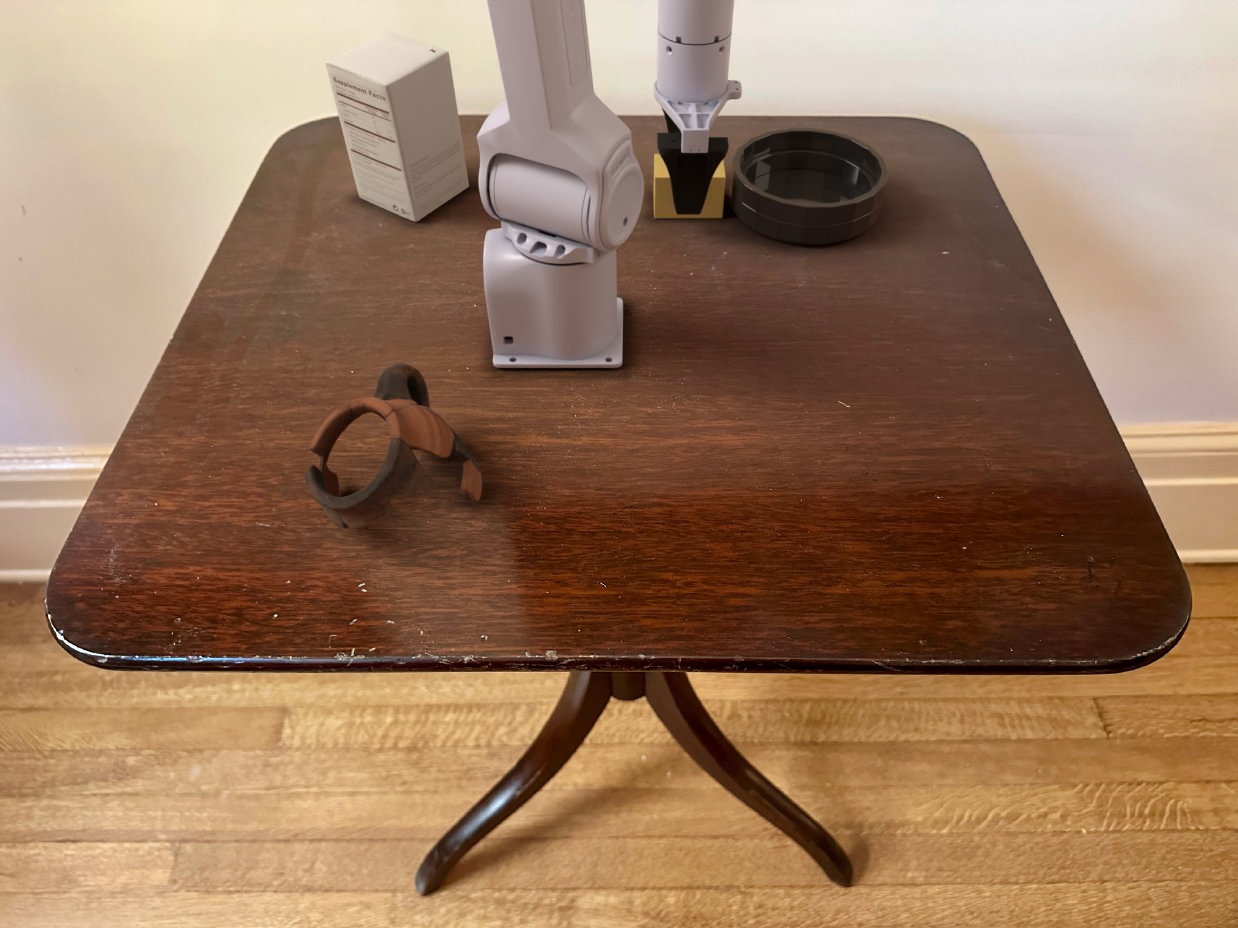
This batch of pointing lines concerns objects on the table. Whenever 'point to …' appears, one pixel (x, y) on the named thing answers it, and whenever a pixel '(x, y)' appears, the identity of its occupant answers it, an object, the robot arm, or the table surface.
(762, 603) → the table surface
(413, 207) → the white packaging box
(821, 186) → the pan
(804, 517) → the table surface
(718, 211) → the yellow box
